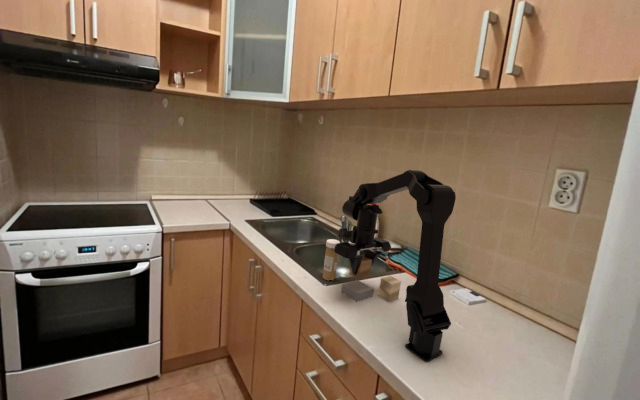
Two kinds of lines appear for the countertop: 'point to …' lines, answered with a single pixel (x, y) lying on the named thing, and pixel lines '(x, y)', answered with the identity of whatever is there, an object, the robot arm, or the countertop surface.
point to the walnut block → (362, 269)
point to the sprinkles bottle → (330, 260)
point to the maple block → (389, 288)
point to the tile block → (357, 290)
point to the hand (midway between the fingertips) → (359, 273)
